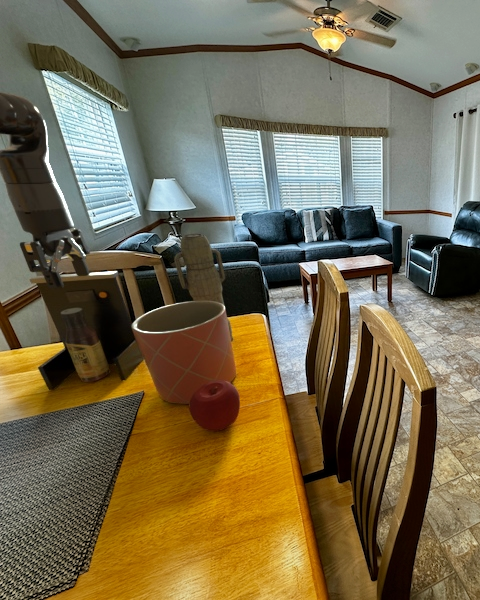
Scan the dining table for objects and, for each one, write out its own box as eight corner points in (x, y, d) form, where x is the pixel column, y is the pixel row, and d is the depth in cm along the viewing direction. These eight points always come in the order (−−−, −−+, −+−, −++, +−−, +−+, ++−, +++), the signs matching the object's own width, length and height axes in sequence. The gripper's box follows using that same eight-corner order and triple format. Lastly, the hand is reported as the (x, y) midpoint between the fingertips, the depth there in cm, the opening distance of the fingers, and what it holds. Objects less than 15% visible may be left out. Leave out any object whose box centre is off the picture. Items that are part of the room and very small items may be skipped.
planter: (196, 416, 75) (173, 339, 67) (137, 398, 81) (110, 326, 73) (255, 370, 92) (242, 305, 84) (203, 359, 97) (186, 296, 90)
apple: (193, 446, 67) (180, 407, 63) (200, 415, 75) (189, 379, 71) (243, 433, 70) (234, 395, 66) (245, 405, 78) (237, 370, 74)
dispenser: (76, 366, 94) (36, 276, 84) (147, 357, 98) (117, 271, 88) (46, 390, 84) (-4, 291, 73) (127, 380, 88) (91, 284, 78)
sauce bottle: (75, 381, 87) (44, 314, 80) (100, 368, 93) (73, 304, 85) (93, 385, 86) (64, 316, 78) (118, 371, 91) (92, 306, 84)
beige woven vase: (243, 339, 109) (221, 233, 95) (205, 353, 100) (175, 240, 87) (231, 331, 114) (208, 230, 101) (194, 344, 105) (164, 236, 92)
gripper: (45, 202, 71) (72, 272, 78) (-15, 211, 59) (24, 294, 65) (85, 202, 73) (109, 271, 79) (36, 211, 60) (69, 292, 67)
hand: (71, 281), depth 72 cm, fingers open, 8 cm apart
